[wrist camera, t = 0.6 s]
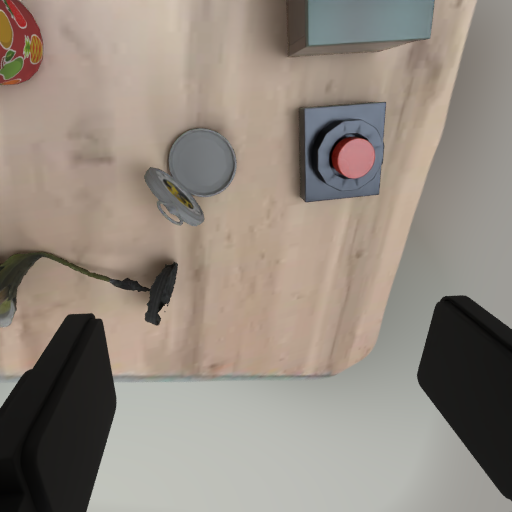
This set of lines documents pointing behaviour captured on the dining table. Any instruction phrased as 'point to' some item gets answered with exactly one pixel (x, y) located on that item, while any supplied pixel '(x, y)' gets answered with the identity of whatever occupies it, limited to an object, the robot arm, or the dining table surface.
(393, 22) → the green panel
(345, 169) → the alarm button
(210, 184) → the pocket watch
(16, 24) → the smoothie
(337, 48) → the open brown box case
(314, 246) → the dining table surface
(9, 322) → the artificial flower
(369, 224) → the dining table surface
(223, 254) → the dining table surface
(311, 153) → the base
